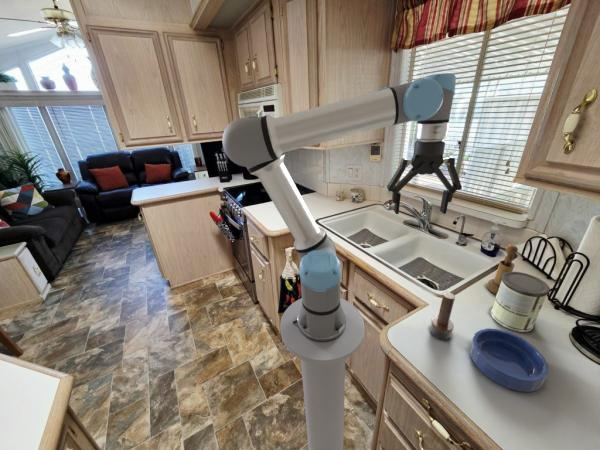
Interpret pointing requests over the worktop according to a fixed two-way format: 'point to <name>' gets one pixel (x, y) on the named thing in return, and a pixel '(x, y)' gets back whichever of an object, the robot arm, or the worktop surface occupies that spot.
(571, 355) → the worktop surface
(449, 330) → the brush
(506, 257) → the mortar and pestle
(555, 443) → the worktop surface
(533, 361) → the bowl
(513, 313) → the coffee can
